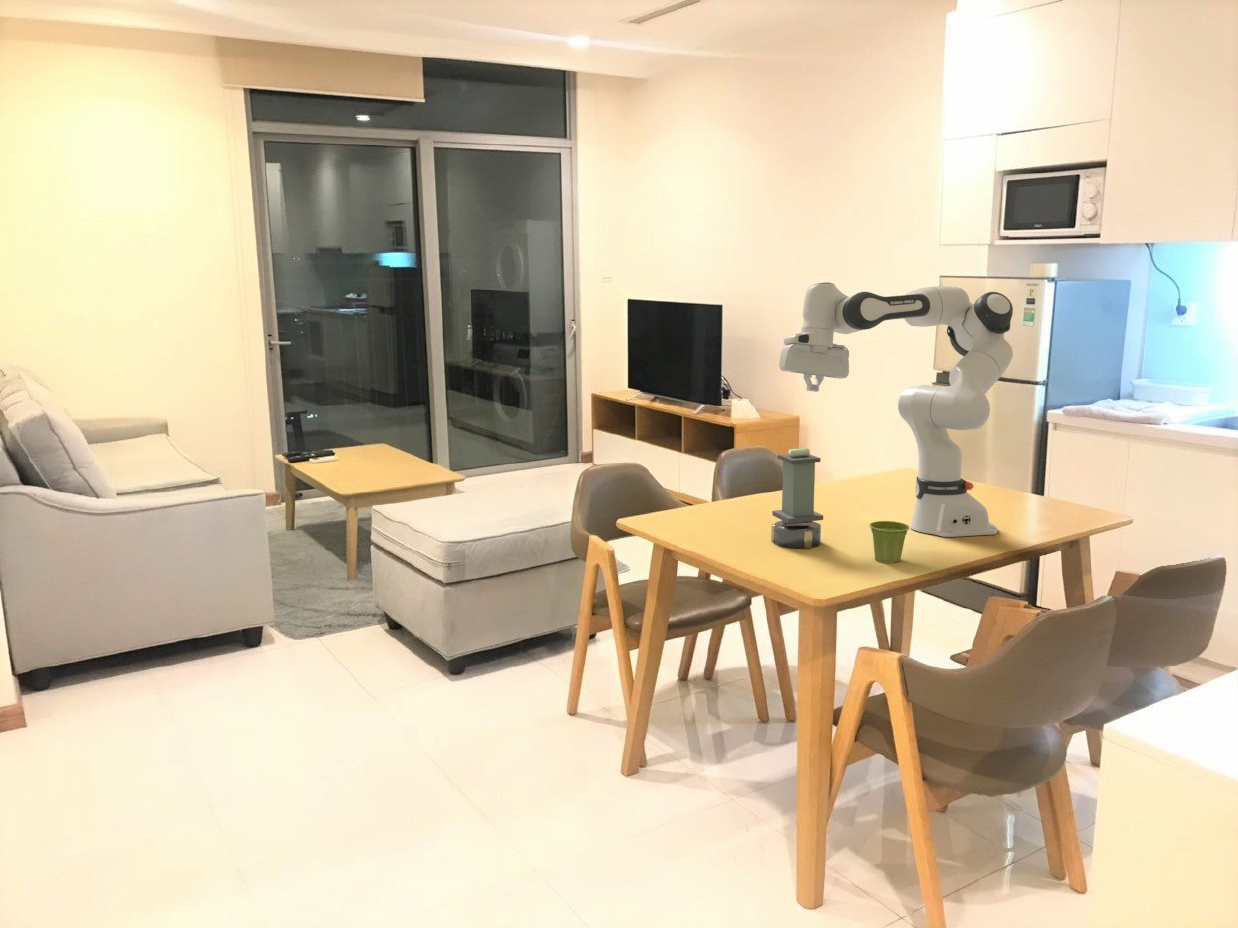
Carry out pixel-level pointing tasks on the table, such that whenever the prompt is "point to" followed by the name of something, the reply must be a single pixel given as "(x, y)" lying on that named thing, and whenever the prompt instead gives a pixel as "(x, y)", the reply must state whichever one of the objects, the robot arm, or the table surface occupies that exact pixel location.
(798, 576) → the table surface
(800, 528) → the base
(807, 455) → the green square column
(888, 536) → the plant pot
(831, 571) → the table surface
